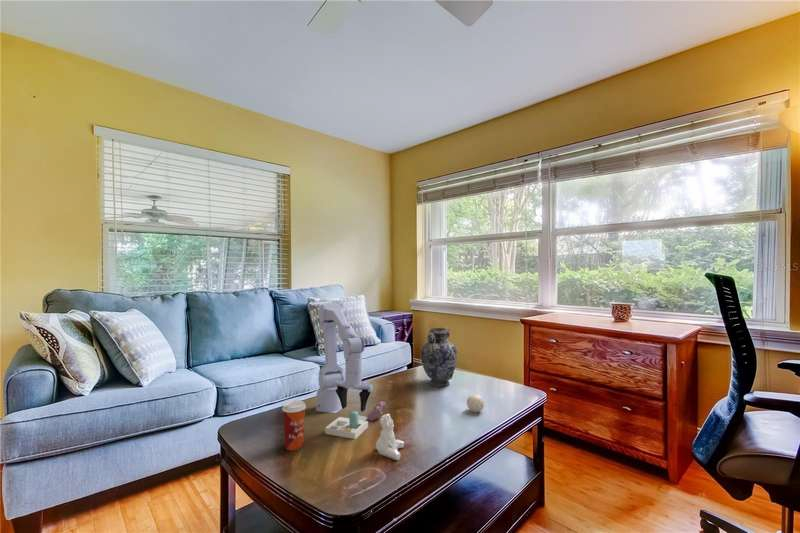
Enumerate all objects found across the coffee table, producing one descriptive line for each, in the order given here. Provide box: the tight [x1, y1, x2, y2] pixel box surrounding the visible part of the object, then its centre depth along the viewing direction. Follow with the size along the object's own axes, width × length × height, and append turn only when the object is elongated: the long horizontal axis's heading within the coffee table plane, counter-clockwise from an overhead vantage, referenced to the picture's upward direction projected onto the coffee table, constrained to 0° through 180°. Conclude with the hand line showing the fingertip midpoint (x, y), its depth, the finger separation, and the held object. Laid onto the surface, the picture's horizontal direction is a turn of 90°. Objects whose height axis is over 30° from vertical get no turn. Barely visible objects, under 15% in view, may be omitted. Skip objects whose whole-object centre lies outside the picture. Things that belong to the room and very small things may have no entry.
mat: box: [358, 414, 368, 421], centre depth 136 cm, size 7×7×1 cm
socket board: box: [324, 416, 369, 440], centre depth 127 cm, size 12×10×3 cm
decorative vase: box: [420, 327, 458, 388], centre depth 180 cm, size 21×19×28 cm
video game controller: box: [366, 400, 387, 422], centre depth 139 cm, size 10×5×7 cm, turn 168°
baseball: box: [466, 394, 485, 413], centre depth 143 cm, size 7×7×7 cm
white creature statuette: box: [375, 413, 405, 461], centre depth 112 cm, size 10×9×12 cm
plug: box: [348, 410, 359, 429], centre depth 126 cm, size 3×3×7 cm
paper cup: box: [281, 399, 307, 451], centre depth 116 cm, size 8×8×14 cm
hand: (353, 409), depth 126 cm, fingers open, 7 cm apart
